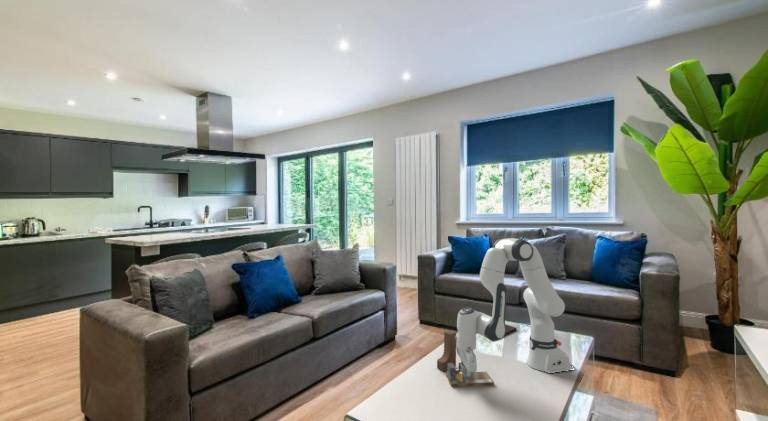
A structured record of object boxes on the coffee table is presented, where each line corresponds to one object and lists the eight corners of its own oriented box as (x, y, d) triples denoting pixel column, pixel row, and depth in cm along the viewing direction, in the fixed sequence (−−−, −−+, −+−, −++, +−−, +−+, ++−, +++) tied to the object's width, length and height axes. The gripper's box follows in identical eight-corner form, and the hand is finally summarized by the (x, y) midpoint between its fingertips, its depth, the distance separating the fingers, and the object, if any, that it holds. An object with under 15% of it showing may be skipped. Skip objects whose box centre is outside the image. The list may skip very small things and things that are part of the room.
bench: (486, 374, 173) (486, 359, 172) (494, 385, 163) (494, 369, 162) (446, 375, 171) (446, 360, 171) (451, 387, 161) (451, 370, 161)
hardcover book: (474, 332, 227) (474, 329, 227) (494, 324, 242) (494, 321, 242) (497, 340, 215) (497, 336, 215) (516, 331, 230) (516, 327, 230)
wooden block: (442, 371, 175) (443, 336, 174) (436, 368, 179) (437, 333, 178) (456, 367, 180) (456, 332, 179) (450, 363, 184) (450, 329, 183)
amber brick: (461, 380, 164) (461, 371, 163) (462, 382, 162) (462, 373, 162) (459, 380, 164) (459, 371, 163) (460, 382, 162) (460, 373, 162)
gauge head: (470, 374, 169) (470, 362, 169) (475, 382, 162) (476, 369, 162) (453, 375, 169) (453, 362, 169) (457, 383, 161) (457, 370, 161)
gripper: (480, 353, 156) (480, 383, 156) (466, 334, 176) (466, 361, 177) (466, 353, 155) (466, 384, 156) (454, 335, 176) (453, 362, 176)
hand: (466, 372), depth 167 cm, fingers closed on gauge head, 5 cm apart
